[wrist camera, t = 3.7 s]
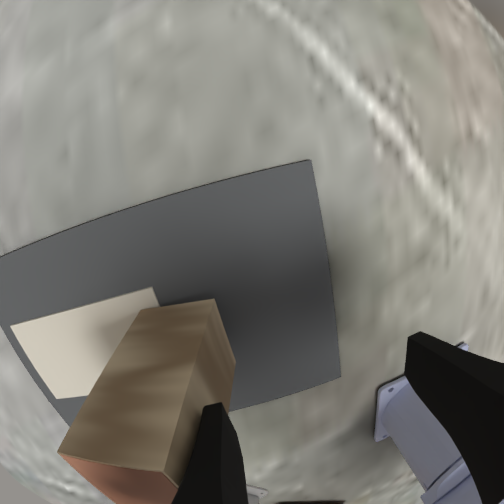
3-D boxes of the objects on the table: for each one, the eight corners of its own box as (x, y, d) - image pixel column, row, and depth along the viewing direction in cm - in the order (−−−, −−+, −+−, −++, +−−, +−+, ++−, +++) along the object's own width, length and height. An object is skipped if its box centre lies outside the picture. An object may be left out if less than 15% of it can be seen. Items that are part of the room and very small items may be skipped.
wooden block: (214, 298, 14) (163, 471, 6) (235, 361, 16) (213, 519, 8) (140, 309, 15) (56, 452, 7) (168, 367, 16) (118, 506, 8)
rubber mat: (308, 159, 14) (312, 160, 14) (339, 374, 19) (341, 378, 19) (-24, 267, 13) (-28, 270, 12) (77, 431, 18) (75, 435, 17)
